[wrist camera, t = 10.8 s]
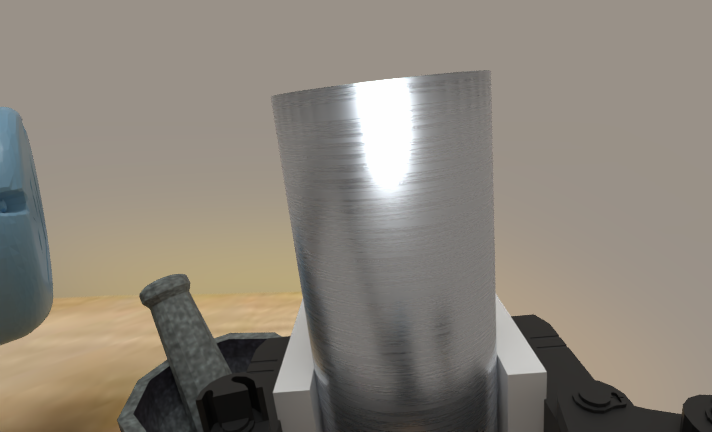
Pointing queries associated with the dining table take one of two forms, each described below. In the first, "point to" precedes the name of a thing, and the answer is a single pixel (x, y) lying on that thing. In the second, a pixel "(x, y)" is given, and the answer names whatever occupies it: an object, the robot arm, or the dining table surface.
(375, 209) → the brushed metal peg
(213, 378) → the mortar and pestle
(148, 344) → the dining table surface
